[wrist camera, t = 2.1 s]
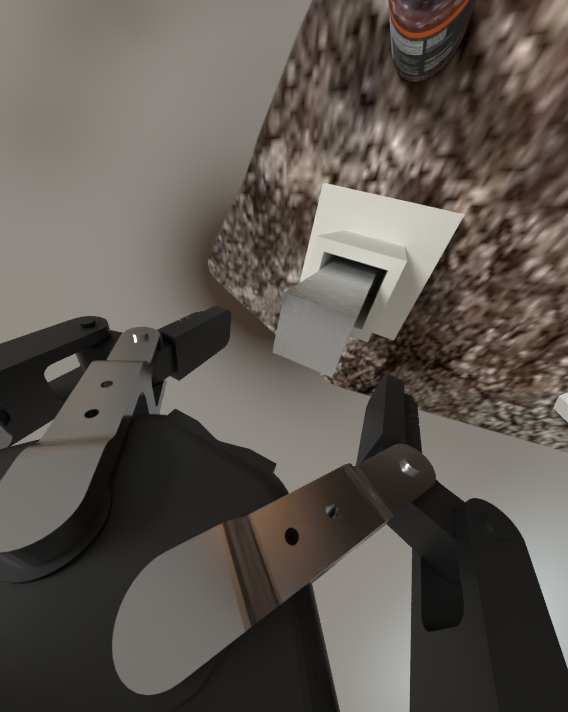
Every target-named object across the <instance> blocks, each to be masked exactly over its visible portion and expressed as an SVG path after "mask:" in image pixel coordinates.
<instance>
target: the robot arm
mask: <svg viewBox="0 0 568 712" xmlns="http://www.w3.org/2000/svg"><path fill="white" fill-rule="evenodd" d="M230 325H231V312H230V311H229V310H226V309H224V308H221V307H219V306H214V307H212V308H210V309H207V310H205V311H201V312H196V313H193V314H191V315H188V316H187V317H184V318H182V319H180V321H179V320H177V321H175V322H173V323H171V324H169V325H167V326H164V327H162V328H160V329H158V330H156V329H153V328H149V327H136V328H131V329H128V330H126V331H125V332H123V333H122V332H117V331H112V330H110V329H109V325H108V322H107V320H106V319H104V318H101V317H96V316H85V317H79V318H75V319H72V320H69V321H66V322H63V323H60V324H57V325H54V326H51V327H48V328H45V329H42V330H40V331H36V332H33V333H31V334H28V335H25V336H22V337H19V338H16V339H13V340H10V341H7V342H4V343H1V344H0V712H340V709H339V705H338V700H337V696H336V691H335V687H334V682H333V677H332V673H331V668H330V664H329V659H328V655H327V650H326V646H325V641H324V636H323V632H322V628H321V623H320V618H319V614H318V609H317V604H316V600H315V595H314V591H313V586H312V583H313V582H314V581H316V580H317V579H318V578H319V577H321V576H322V575H323V574H324V573H326V572H327V571H328V570H329V569H331V568H332V567H333V566H335V565H336V564H337V563H338V562H339V561H341V560H342V559H343V558H344V557H345V556H347V555H348V554H349V553H350V552H352V551H353V550H354V549H356V548H357V547H358V546H359V545H361V544H362V543H363V542H364V541H366V540H367V539H368V538H369V537H371V536H372V535H373V534H374V533H376V532H377V531H378V530H379V529H381V528H382V527H383V526H385V525H386V524H387V525H388V526H389V527H390V528H391V529H392V530H394V531H395V532H396V533H397V534H398V535H399V536H400V537H401V538H402V539H403V540H404V541H405V542H406V543H407V544H408V545H410V546H411V547H412V597H411V598H412V599H411V600H412V601H411V602H412V603H411V660H410V661H411V662H410V712H568V668H567V665H566V662H565V659H564V657H563V653H562V651H561V648H560V645H559V642H558V639H557V636H556V633H555V630H554V627H553V624H552V621H551V618H550V615H549V612H548V609H547V606H546V603H545V600H544V597H543V594H542V591H541V588H540V585H539V583H538V579H537V576H536V573H535V570H534V567H533V564H532V562H531V559H530V556H529V553H528V550H527V547H526V544H525V541H524V539H523V537H522V535H521V533H520V532H519V530H518V529H517V527H516V526H515V525H514V523H513V522H512V521H511V520H510V519H509V518H508V517H507V516H506V515H505V514H504V513H503V512H501V510H499V509H498V508H497V507H495V506H494V505H492V504H491V503H489V502H487V501H485V500H482V499H478V498H472V499H469V500H468V501H466V502H464V501H463V500H461V499H460V498H459V497H457V496H456V495H454V494H453V493H452V492H451V491H449V490H448V489H447V488H445V487H444V486H443V485H442V484H440V483H439V482H438V481H437V480H436V475H435V471H434V469H433V466H432V465H431V463H430V462H429V461H428V459H427V458H426V457H425V456H424V455H423V454H422V448H421V438H420V428H419V417H418V407H417V404H416V403H415V401H414V399H413V398H412V396H410V395H408V394H406V393H404V381H403V380H401V379H399V378H396V377H394V376H391V375H389V374H385V375H384V376H383V378H382V379H381V381H380V383H379V384H378V386H377V388H376V389H375V391H374V393H373V394H372V396H371V398H370V400H369V402H368V404H367V407H366V412H365V417H364V423H363V428H362V434H361V440H360V446H359V452H358V457H357V463H356V466H354V467H353V466H352V464H350V463H349V464H345V465H343V466H341V467H339V468H337V469H335V470H333V471H332V472H330V473H328V474H326V475H324V476H322V477H320V478H318V479H316V480H314V481H312V482H310V483H309V484H307V485H305V486H303V487H301V488H299V489H297V490H295V491H293V492H291V493H290V494H289V493H288V491H287V489H286V488H285V486H284V484H283V483H282V482H281V481H280V479H279V478H278V477H277V476H276V475H275V474H274V470H275V467H276V463H274V462H272V461H270V460H269V459H267V458H265V457H263V456H261V455H260V454H258V453H256V452H254V451H252V450H250V449H248V448H244V447H240V446H236V445H232V444H228V443H224V442H221V441H218V440H217V439H215V438H214V437H213V436H212V435H211V434H210V433H209V432H208V431H207V430H206V429H205V428H204V426H202V424H200V423H199V422H198V421H197V420H195V419H193V418H191V417H190V416H188V415H186V414H184V413H182V412H181V411H179V410H177V409H174V410H173V411H172V412H171V413H170V414H168V415H161V414H159V413H160V408H161V403H162V400H163V396H164V391H165V387H166V378H167V377H169V376H171V377H173V378H175V379H177V380H179V381H180V380H181V379H182V378H184V377H185V376H186V375H187V374H189V373H190V372H191V371H193V370H194V369H195V368H197V367H199V366H200V365H201V364H203V363H204V362H205V361H207V360H208V359H209V358H211V357H212V356H213V355H215V354H216V353H217V352H219V351H220V350H221V349H223V348H224V347H225V346H226V345H227V343H228V341H229V338H230ZM75 353H76V356H77V358H78V361H79V363H80V367H78V368H76V369H74V370H72V371H70V372H68V373H66V374H64V375H62V376H60V377H58V378H56V379H54V380H52V381H50V382H47V381H46V379H45V377H44V372H45V370H46V368H47V367H48V366H49V365H51V364H53V363H55V362H57V361H60V360H62V359H64V358H66V357H68V356H71V355H73V354H75ZM53 419H54V420H53ZM52 420H53V422H52V423H51V425H50V426H49V428H48V429H47V431H46V432H45V434H44V435H43V437H42V438H41V439H39V440H36V441H31V442H27V443H23V444H19V445H15V446H12V445H13V444H15V443H17V442H18V441H20V440H21V439H22V438H24V437H26V436H28V435H29V434H31V433H32V432H34V431H36V430H37V429H39V428H40V427H42V426H44V425H45V424H47V423H48V422H50V421H52ZM10 446H11V447H10Z"/></svg>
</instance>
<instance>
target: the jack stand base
mask: <svg viewBox="0 0 568 712" xmlns="http://www.w3.org/2000/svg"><path fill="white" fill-rule="evenodd" d="M463 216H464V214H460V213H455V212H451V211H446V210H442V209H437V208H433V207H429V206H424V205H420V204H415V203H411V202H406V201H402V200H397V199H393V198H388V197H384V196H379V195H375V194H371V193H366V192H362V191H357V190H353V189H348V188H344V187H339V186H335V185H330V184H326V183H323V187H322V191H321V195H320V199H319V203H318V208H317V212H316V216H315V220H314V225H313V229H312V233H311V237H310V241H309V246H308V250H307V254H306V258H305V262H304V267H303V271H302V275H301V279H300V282H302V281H303V280H305V279H306V278H308V277H310V276H311V275H313V274H314V273H316V272H317V271H319V270H321V269H322V268H324V267H325V266H327V265H328V264H330V263H331V262H333V261H335V260H336V259H338V258H339V257H344V258H348V259H351V260H354V261H358V262H361V263H364V264H368V265H371V266H375V267H378V268H379V269H378V271H377V273H376V276H375V278H374V280H373V283H372V285H371V288H370V290H369V292H368V294H367V297H366V299H365V301H364V304H363V306H362V308H361V311H360V313H359V315H358V318H357V320H356V322H355V325H354V327H353V329H352V332H351V334H350V336H352V337H355V338H357V339H360V340H363V341H365V342H368V341H369V339H370V337H371V335H372V333H375V334H378V335H380V336H383V337H386V338H389V339H391V340H394V339H395V337H396V336H397V334H398V332H399V330H400V329H401V327H402V325H403V323H404V321H405V320H406V318H407V316H408V314H409V313H410V311H411V309H412V307H413V305H414V304H415V302H416V300H417V298H418V296H419V295H420V293H421V291H422V289H423V288H424V286H425V284H426V282H427V280H428V279H429V277H430V275H431V273H432V272H433V270H434V268H435V266H436V264H437V263H438V261H439V259H440V257H441V256H442V254H443V252H444V250H445V248H446V247H447V245H448V243H449V241H450V239H451V238H452V236H453V234H454V232H455V231H456V229H457V227H458V225H459V223H460V222H461V220H462V218H463Z"/></svg>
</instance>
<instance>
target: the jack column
mask: <svg viewBox="0 0 568 712" xmlns="http://www.w3.org/2000/svg"><path fill="white" fill-rule="evenodd" d="M378 269H379V268H378V267H375V266H371V265H368V264H364V263H361V262H358V261H354V260H351V259H348V258H344V257H339V258H338V259H336V260H335V261H333V262H331V263H330V264H328V265H327V266H325V267H324V268H322V269H321V270H319V271H317V272H316V273H314V274H313V275H311V276H310V277H308V278H306V279H305V280H303V281H302V282H300V283H299V284H297V285H295V286H294V287H292V288H291V289H289V290H288V291H286V292H285V294H284V298H283V303H282V308H281V313H280V318H279V323H278V328H277V333H276V338H275V343H274V348H273V353H276V354H278V355H280V356H283V357H285V358H287V359H290V360H292V361H295V362H297V363H299V364H301V365H304V366H306V367H309V368H311V369H313V370H316V371H318V372H320V373H323V374H325V375H327V376H330V377H332V376H333V373H334V371H335V369H336V366H337V364H338V362H339V359H340V357H341V355H342V352H343V350H344V348H345V345H346V343H347V341H348V338H349V336H350V334H351V332H352V329H353V327H354V325H355V322H356V320H357V318H358V315H359V313H360V311H361V308H362V306H363V304H364V301H365V299H366V297H367V294H368V292H369V290H370V288H371V285H372V283H373V280H374V278H375V276H376V273H377V271H378Z"/></svg>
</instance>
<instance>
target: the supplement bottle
mask: <svg viewBox="0 0 568 712" xmlns="http://www.w3.org/2000/svg"><path fill="white" fill-rule="evenodd" d="M475 2H476V0H388V3H389V17H390V30H391V44H392V55H393V61H394V66H395V68H396V71H397V72H398V74H399V75H400V76H401V77H402V78H404V79H405V80H408V81H411V82H418V81H421V80H424V79H427V78H429V77H431V76H433V75H434V74H435V73H437V72H438V71H439V70H440V69H441V68H442V67H443V66H444V65H445V64H446V63H447V62H448V61H449V60H450V58H451V57H452V56H453V54H454V53H455V51H456V49H457V48H458V46H459V44H460V42H461V40H462V38H463V36H464V33H465V31H466V28H467V26H468V23H469V20H470V17H471V14H472V11H473V8H474V5H475Z"/></svg>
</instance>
